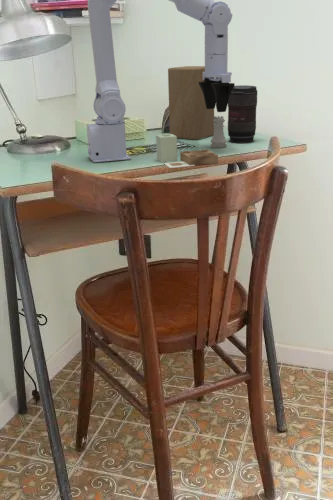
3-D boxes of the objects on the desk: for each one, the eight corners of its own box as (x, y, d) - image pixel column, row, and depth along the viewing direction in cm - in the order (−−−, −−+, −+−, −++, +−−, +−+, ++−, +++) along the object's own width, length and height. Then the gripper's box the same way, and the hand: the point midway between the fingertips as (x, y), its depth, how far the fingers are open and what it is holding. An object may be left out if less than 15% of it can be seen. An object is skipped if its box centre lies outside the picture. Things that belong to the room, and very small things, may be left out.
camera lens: (226, 143, 150) (227, 88, 145) (228, 138, 158) (228, 85, 152) (255, 143, 149) (257, 87, 144) (255, 138, 156) (257, 85, 151)
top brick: (161, 162, 130) (160, 135, 127) (156, 159, 133) (155, 133, 131) (177, 161, 131) (176, 134, 129) (172, 158, 134) (171, 132, 132)
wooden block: (187, 133, 170) (186, 66, 163) (214, 135, 164) (215, 66, 157) (169, 137, 162) (167, 68, 155) (197, 140, 157) (196, 68, 150)
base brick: (189, 165, 125) (189, 156, 124) (180, 160, 132) (180, 151, 131) (217, 163, 127) (217, 153, 126) (207, 157, 133) (207, 148, 133)
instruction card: (169, 168, 124) (169, 167, 123) (163, 164, 128) (163, 162, 128) (194, 165, 125) (194, 164, 125) (187, 161, 130) (187, 160, 129)
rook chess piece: (226, 148, 144) (226, 117, 141) (209, 148, 145) (209, 117, 142) (227, 145, 148) (227, 115, 145) (211, 145, 149) (211, 115, 146)
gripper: (242, 54, 129) (241, 112, 134) (220, 53, 142) (219, 106, 147) (215, 55, 127) (215, 114, 132) (194, 54, 140) (195, 108, 145)
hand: (215, 110), depth 140 cm, fingers open, 7 cm apart
